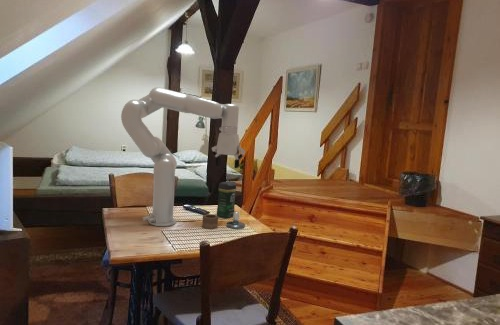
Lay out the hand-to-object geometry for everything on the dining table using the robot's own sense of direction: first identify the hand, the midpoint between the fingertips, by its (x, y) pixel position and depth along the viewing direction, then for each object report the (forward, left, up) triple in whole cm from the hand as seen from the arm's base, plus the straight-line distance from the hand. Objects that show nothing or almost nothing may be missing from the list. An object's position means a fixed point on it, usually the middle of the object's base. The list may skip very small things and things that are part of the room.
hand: (227, 166), depth 170 cm
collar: (-8, +1, -29) cm, 29 cm away
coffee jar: (+11, +11, -29) cm, 33 cm away
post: (+3, -5, -29) cm, 29 cm away
